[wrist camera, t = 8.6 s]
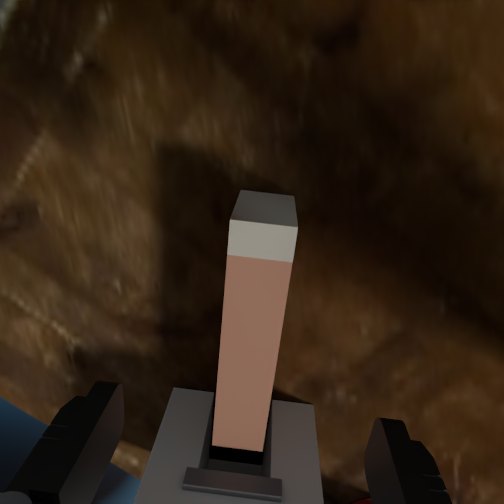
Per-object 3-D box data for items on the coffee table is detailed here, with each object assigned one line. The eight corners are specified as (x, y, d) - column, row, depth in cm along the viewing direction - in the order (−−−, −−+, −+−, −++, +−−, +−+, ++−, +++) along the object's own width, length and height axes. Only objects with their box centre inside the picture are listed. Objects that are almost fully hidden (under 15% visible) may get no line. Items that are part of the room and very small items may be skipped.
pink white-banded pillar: (294, 195, 25) (298, 227, 20) (265, 388, 32) (262, 451, 26) (240, 189, 25) (229, 219, 20) (223, 383, 32) (211, 445, 26)
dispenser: (314, 399, 32) (328, 523, 23) (297, 475, 36) (303, 607, 27) (173, 381, 33) (132, 498, 23) (172, 459, 36) (136, 585, 27)
